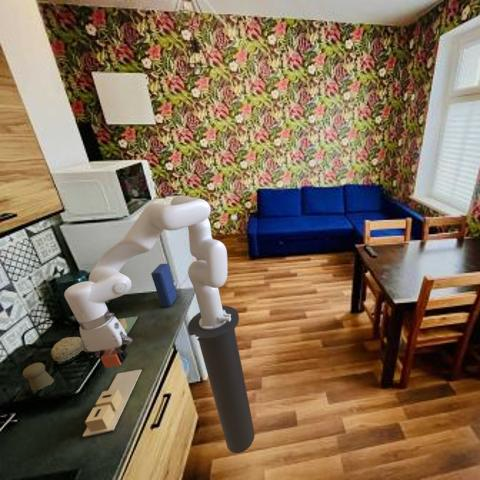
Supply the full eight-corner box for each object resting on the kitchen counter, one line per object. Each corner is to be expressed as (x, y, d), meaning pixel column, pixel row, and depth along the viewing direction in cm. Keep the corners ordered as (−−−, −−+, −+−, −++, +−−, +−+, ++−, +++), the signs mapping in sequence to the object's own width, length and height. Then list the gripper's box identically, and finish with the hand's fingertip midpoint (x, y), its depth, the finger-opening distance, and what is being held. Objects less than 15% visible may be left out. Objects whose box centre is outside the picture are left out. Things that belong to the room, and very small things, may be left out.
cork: (55, 379, 97) (41, 356, 92) (59, 387, 94) (46, 364, 89) (32, 391, 92) (17, 368, 88) (36, 401, 89) (20, 377, 85)
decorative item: (68, 372, 104) (77, 356, 101) (40, 363, 101) (48, 345, 98) (85, 353, 112) (94, 338, 110) (60, 344, 109) (68, 328, 107)
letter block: (120, 365, 89) (115, 355, 87) (105, 368, 88) (100, 358, 86) (126, 354, 93) (121, 345, 91) (111, 357, 92) (107, 347, 90)
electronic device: (168, 296, 143) (158, 263, 135) (178, 295, 143) (169, 263, 135) (160, 307, 134) (149, 273, 126) (171, 306, 134) (161, 272, 126)
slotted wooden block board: (113, 430, 80) (107, 419, 78) (83, 437, 78) (76, 426, 76) (141, 370, 100) (137, 360, 97) (118, 374, 98) (113, 364, 96)
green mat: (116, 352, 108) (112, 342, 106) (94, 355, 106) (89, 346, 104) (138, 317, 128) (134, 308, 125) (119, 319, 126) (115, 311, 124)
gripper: (130, 307, 88) (147, 347, 95) (71, 315, 85) (93, 357, 92) (119, 322, 81) (138, 364, 89) (55, 332, 78) (81, 375, 86)
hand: (115, 360), depth 90 cm, fingers closed on letter block, 4 cm apart
